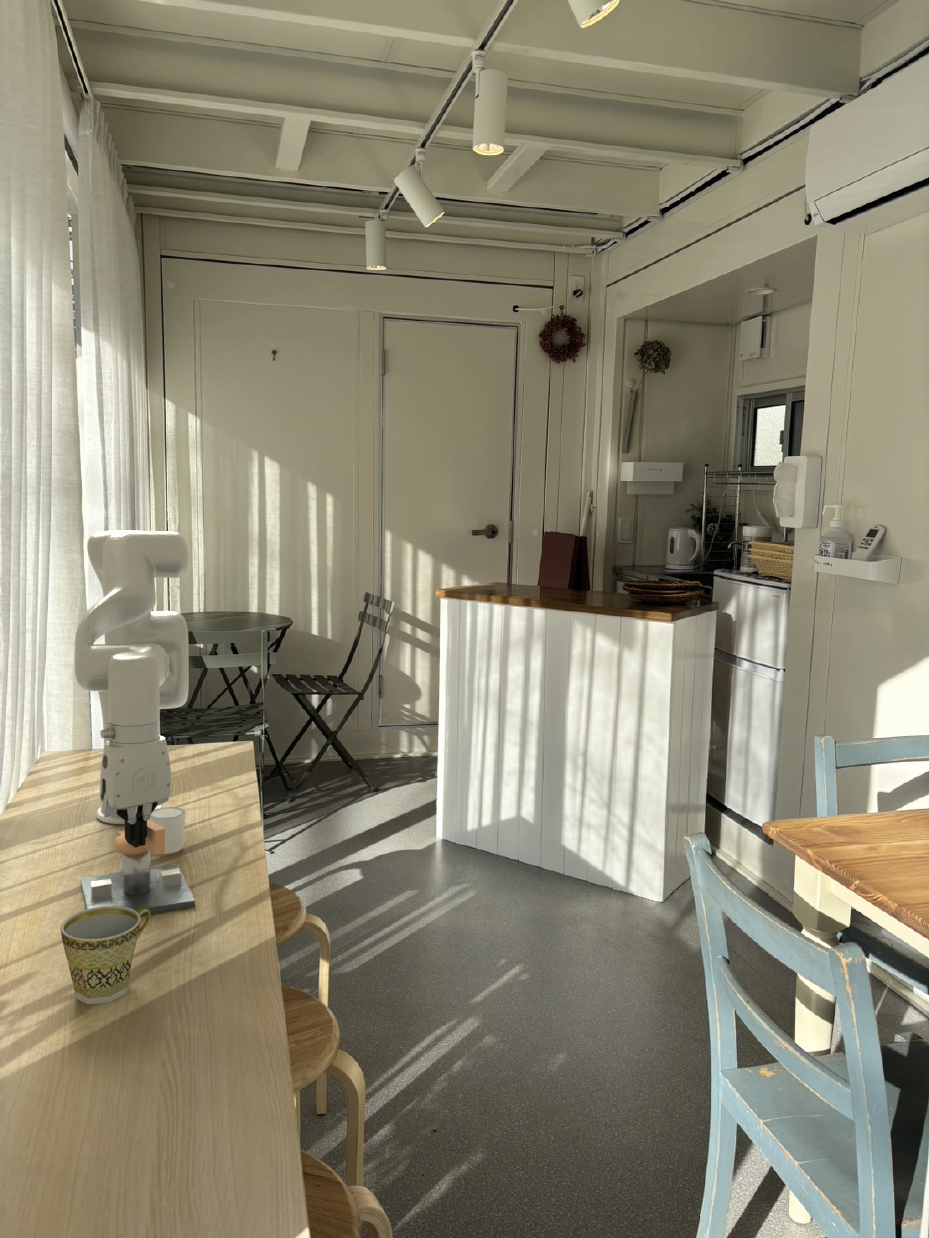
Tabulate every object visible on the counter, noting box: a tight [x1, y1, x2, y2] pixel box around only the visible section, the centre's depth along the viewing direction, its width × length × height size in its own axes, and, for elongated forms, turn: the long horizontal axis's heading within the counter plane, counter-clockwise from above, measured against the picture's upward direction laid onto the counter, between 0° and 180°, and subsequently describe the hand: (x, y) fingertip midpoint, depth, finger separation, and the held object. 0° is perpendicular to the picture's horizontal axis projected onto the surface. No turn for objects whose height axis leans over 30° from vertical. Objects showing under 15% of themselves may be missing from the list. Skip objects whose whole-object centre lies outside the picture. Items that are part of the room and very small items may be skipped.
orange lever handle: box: [114, 820, 165, 856], centre depth 152 cm, size 14×6×6 cm, turn 45°
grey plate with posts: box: [80, 851, 196, 917], centre depth 154 cm, size 16×16×8 cm
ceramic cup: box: [60, 906, 152, 1006], centre depth 126 cm, size 13×10×10 cm
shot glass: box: [149, 806, 187, 855], centre depth 175 cm, size 7×7×7 cm
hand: (136, 843), depth 147 cm, fingers closed
